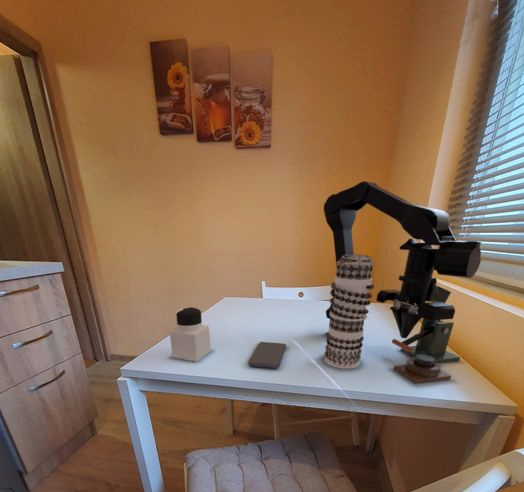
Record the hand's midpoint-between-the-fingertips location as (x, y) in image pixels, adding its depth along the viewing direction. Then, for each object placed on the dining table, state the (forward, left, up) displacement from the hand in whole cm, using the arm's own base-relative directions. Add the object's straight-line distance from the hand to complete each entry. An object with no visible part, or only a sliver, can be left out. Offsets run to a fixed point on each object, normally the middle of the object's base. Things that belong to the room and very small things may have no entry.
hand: (403, 337), depth 68 cm
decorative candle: (-15, +2, -6) cm, 16 cm away
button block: (-1, -8, -6) cm, 10 cm away
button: (-1, -8, -3) cm, 9 cm away
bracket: (+9, 0, -6) cm, 11 cm away
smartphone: (-32, +9, -6) cm, 34 cm away
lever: (+5, 0, -1) cm, 5 cm away
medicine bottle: (-51, +14, -6) cm, 53 cm away
